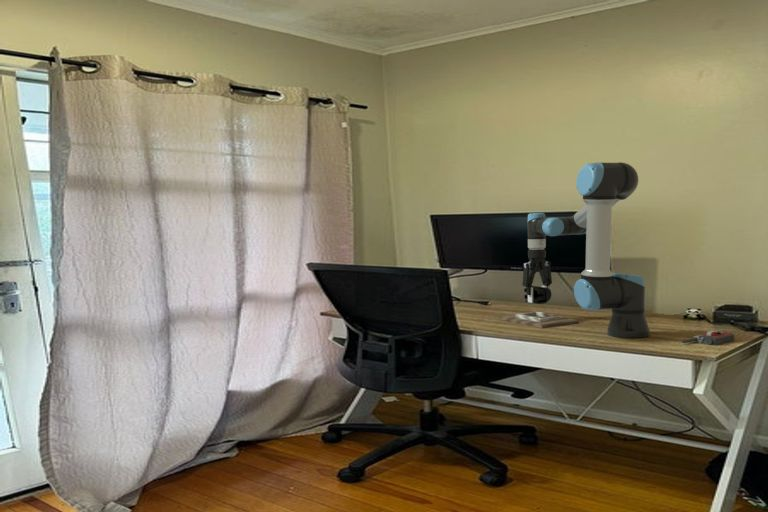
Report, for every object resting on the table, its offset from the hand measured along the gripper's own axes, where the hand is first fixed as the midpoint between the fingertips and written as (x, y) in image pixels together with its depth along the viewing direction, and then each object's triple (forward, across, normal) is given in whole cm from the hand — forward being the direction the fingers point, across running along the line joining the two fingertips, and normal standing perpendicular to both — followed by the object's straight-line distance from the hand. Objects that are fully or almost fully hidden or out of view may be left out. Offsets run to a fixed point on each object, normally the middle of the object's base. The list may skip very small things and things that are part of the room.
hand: (537, 301), depth 284 cm
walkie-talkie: (+9, +16, -71) cm, 73 cm away
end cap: (+1, 0, 0) cm, 1 cm away
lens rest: (+9, 0, 0) cm, 9 cm away
